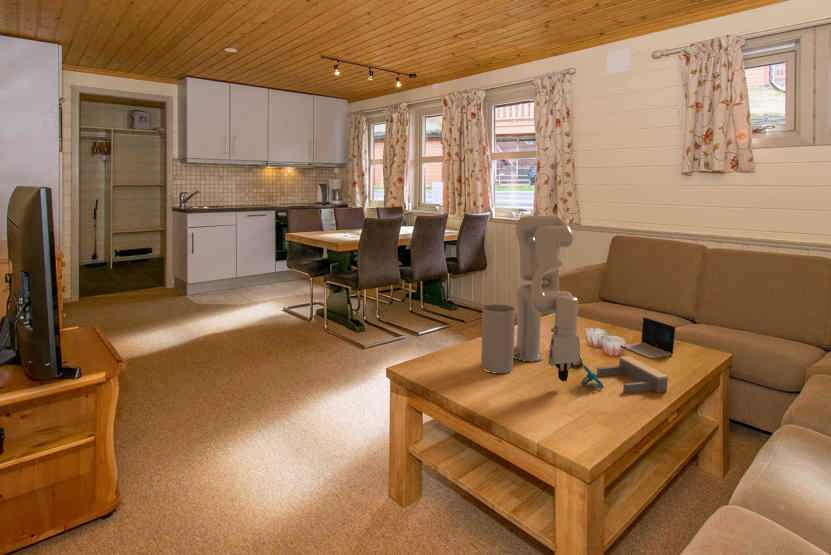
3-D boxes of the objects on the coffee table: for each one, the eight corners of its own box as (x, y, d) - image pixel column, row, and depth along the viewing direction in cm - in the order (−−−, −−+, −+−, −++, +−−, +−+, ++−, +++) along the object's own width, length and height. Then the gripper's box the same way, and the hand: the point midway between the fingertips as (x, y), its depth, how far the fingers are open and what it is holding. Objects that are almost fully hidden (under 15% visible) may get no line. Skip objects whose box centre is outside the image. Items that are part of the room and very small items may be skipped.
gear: (607, 388, 180) (587, 367, 181) (594, 399, 181) (574, 377, 182) (602, 380, 191) (583, 360, 192) (590, 391, 192) (571, 371, 193)
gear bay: (629, 395, 177) (630, 379, 176) (593, 373, 199) (594, 358, 198) (667, 391, 181) (668, 376, 180) (627, 369, 202) (628, 355, 201)
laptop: (619, 347, 231) (621, 319, 229) (641, 344, 236) (643, 316, 233) (650, 359, 215) (653, 329, 212) (673, 356, 219) (676, 326, 217)
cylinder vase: (475, 366, 207) (476, 306, 202) (501, 362, 211) (503, 303, 207) (491, 376, 195) (493, 313, 191) (519, 372, 200) (521, 310, 196)
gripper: (551, 335, 175) (548, 385, 178) (590, 332, 178) (587, 382, 181) (541, 329, 182) (538, 377, 185) (578, 326, 185) (576, 374, 188)
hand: (562, 379), depth 183 cm, fingers closed
